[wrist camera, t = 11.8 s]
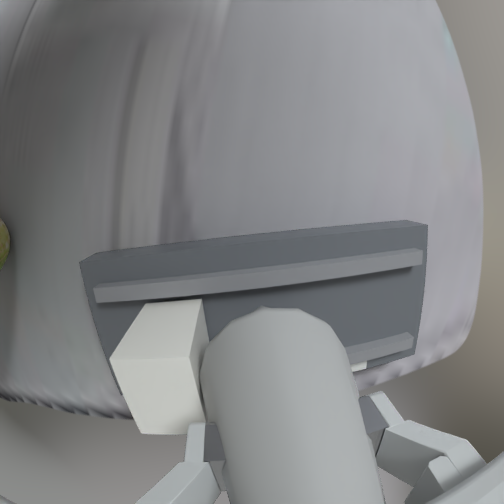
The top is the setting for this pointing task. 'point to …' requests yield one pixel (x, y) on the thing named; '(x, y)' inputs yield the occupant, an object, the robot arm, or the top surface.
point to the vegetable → (4, 243)
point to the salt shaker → (288, 412)
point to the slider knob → (164, 366)
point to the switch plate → (277, 283)
